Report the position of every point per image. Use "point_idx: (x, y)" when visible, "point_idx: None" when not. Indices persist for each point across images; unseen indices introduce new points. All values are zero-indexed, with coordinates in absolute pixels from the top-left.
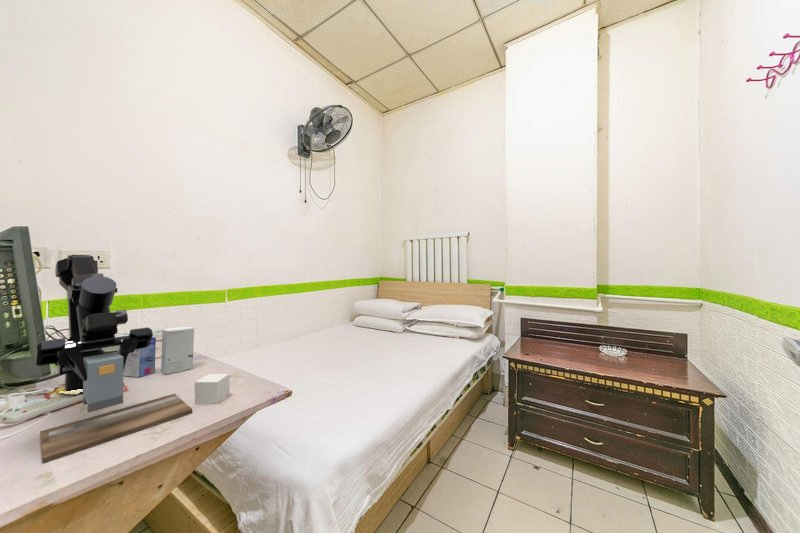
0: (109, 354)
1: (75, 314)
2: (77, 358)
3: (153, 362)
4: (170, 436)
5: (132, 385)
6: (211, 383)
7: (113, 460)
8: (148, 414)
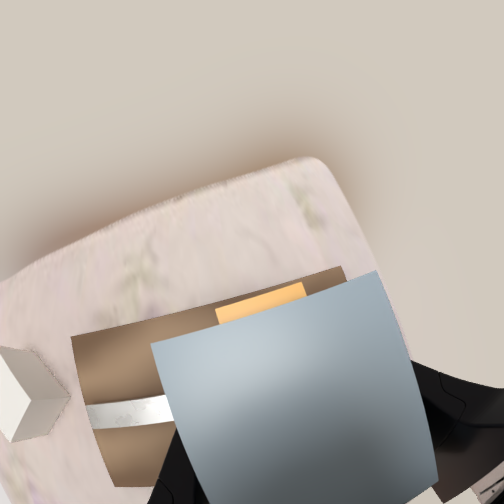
0: None
1: None
2: (469, 400)
3: None
4: (125, 240)
5: None
6: (5, 358)
7: (216, 204)
8: (161, 383)
